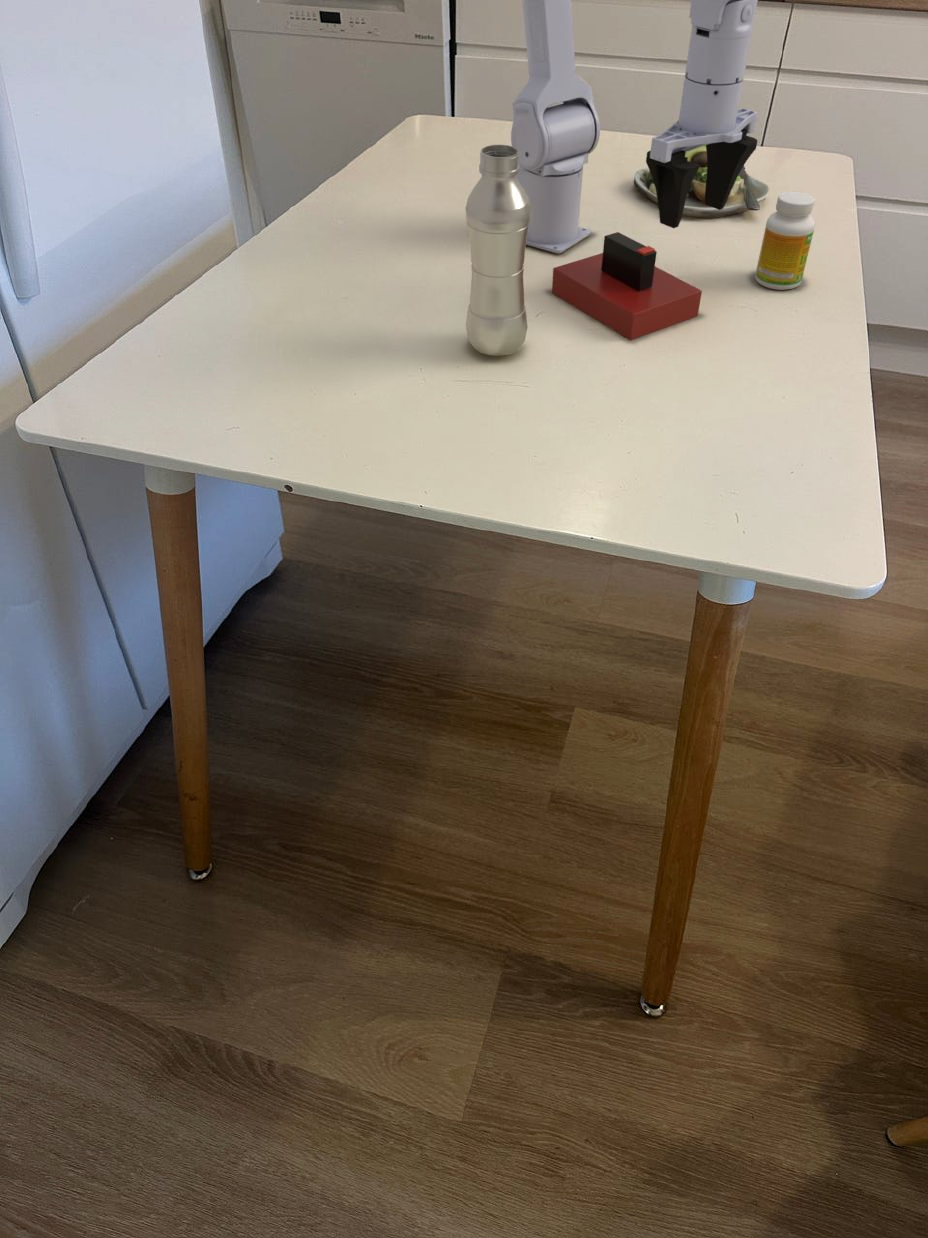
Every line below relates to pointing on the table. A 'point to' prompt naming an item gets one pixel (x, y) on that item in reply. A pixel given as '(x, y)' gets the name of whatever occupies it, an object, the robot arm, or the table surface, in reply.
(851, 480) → the table surface
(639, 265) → the block
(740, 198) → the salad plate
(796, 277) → the supplement bottle
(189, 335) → the table surface
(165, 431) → the table surface
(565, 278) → the red rectangular block
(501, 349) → the metal water bottle
